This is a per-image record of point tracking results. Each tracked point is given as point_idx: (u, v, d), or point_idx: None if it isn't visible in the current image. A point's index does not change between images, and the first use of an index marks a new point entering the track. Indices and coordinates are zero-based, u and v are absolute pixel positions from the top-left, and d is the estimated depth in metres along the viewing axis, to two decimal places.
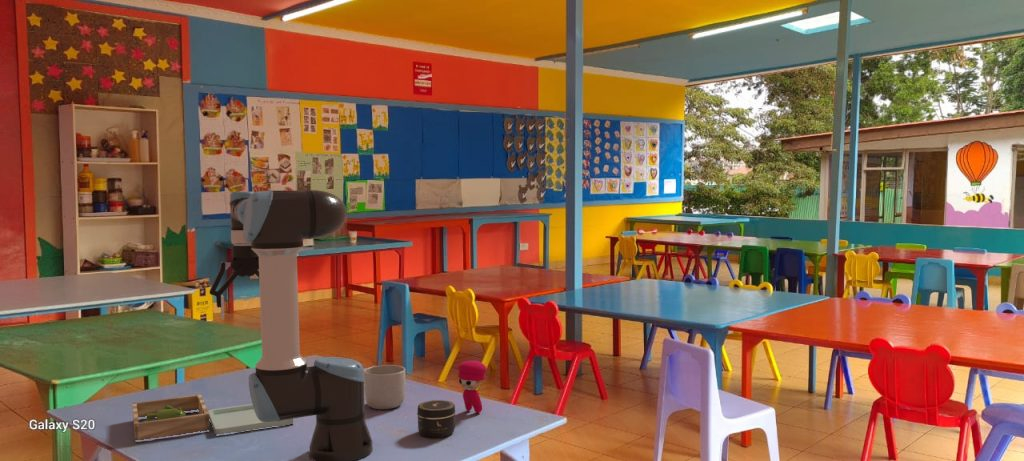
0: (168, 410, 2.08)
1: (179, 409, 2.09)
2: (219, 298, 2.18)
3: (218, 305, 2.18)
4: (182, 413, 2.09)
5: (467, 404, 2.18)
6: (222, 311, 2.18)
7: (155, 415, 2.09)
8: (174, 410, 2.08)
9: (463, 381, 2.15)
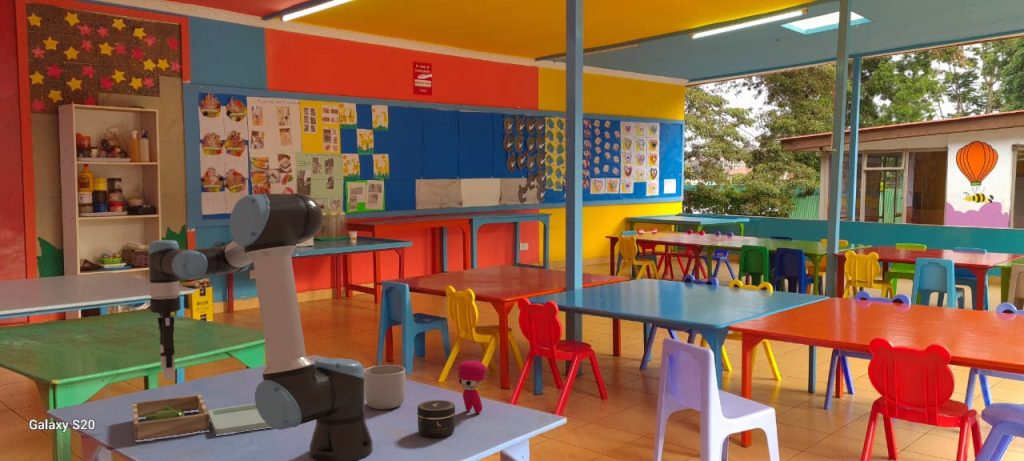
0: (167, 411, 2.07)
1: (178, 410, 2.08)
2: (162, 346, 2.15)
3: None
4: (181, 414, 2.08)
5: (467, 404, 2.18)
6: None
7: (154, 416, 2.08)
8: (173, 411, 2.07)
9: (463, 381, 2.15)
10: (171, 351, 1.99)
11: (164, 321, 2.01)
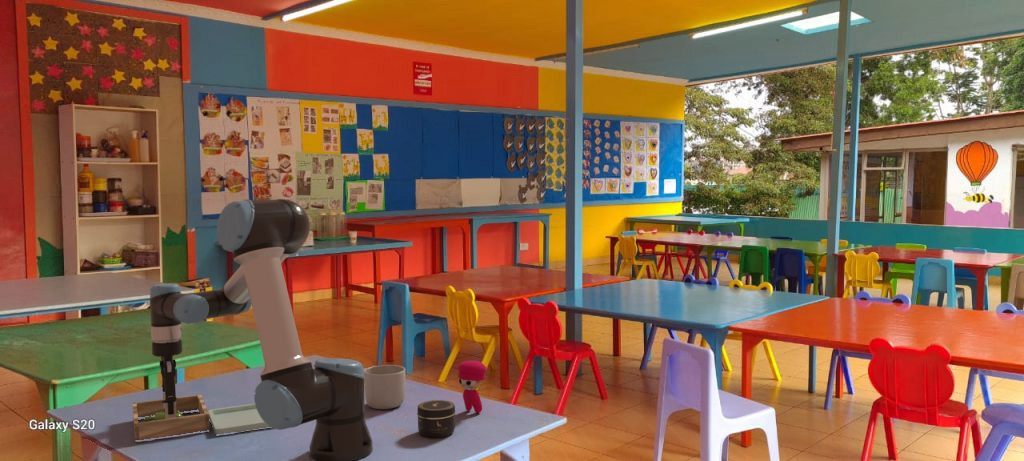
0: None
1: (177, 412, 2.07)
2: None
3: None
4: (180, 416, 2.07)
5: (467, 404, 2.18)
6: (163, 408, 2.13)
7: (153, 418, 2.07)
8: None
9: (463, 381, 2.15)
10: (173, 398, 2.01)
11: (166, 368, 2.02)
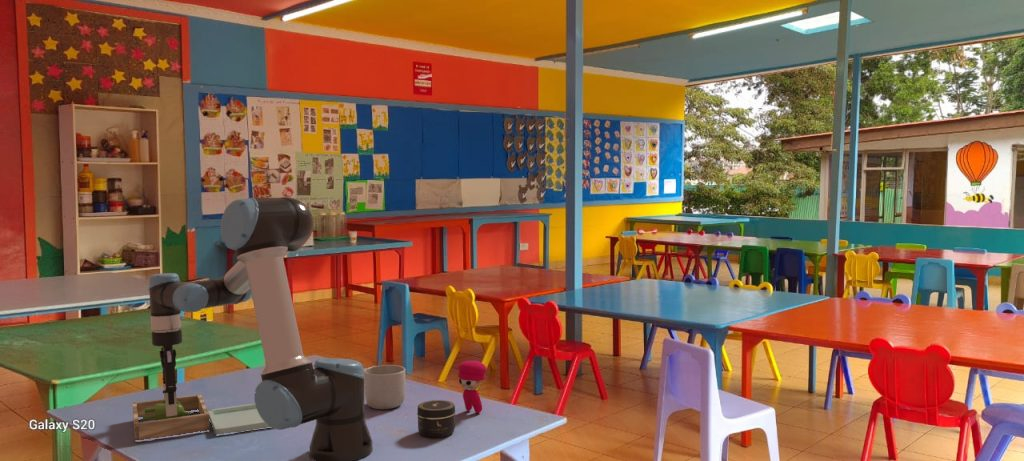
0: None
1: (177, 403, 2.07)
2: None
3: None
4: (180, 407, 2.07)
5: (467, 404, 2.18)
6: None
7: (153, 409, 2.07)
8: None
9: (463, 381, 2.15)
10: (173, 389, 2.02)
11: (166, 358, 2.02)
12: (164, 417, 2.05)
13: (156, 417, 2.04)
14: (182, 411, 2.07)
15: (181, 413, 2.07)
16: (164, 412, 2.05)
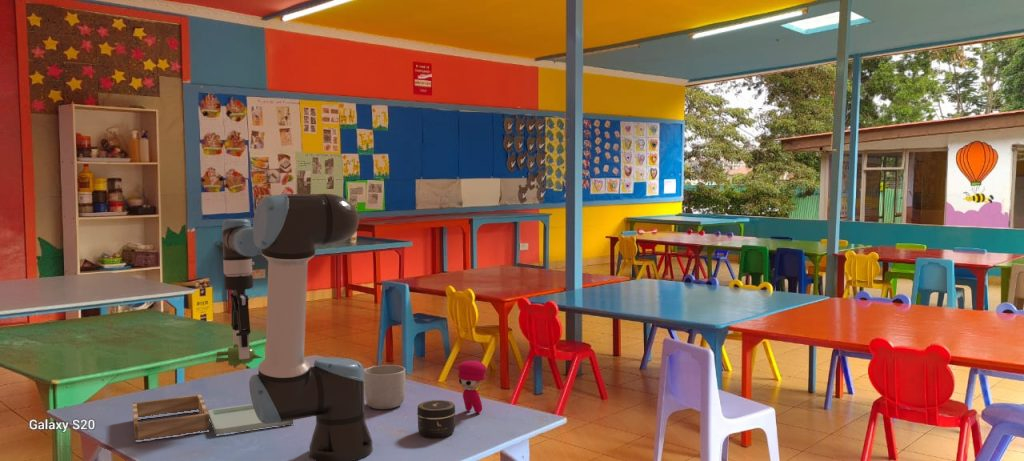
0: (238, 347, 2.09)
1: (249, 346, 2.10)
2: None
3: None
4: (252, 350, 2.10)
5: (467, 404, 2.18)
6: (233, 345, 2.15)
7: (225, 353, 2.10)
8: None
9: (463, 381, 2.15)
10: (247, 331, 2.04)
11: (240, 301, 2.04)
12: (237, 360, 2.07)
13: (229, 360, 2.07)
14: (254, 355, 2.10)
15: (253, 356, 2.09)
16: (237, 355, 2.07)
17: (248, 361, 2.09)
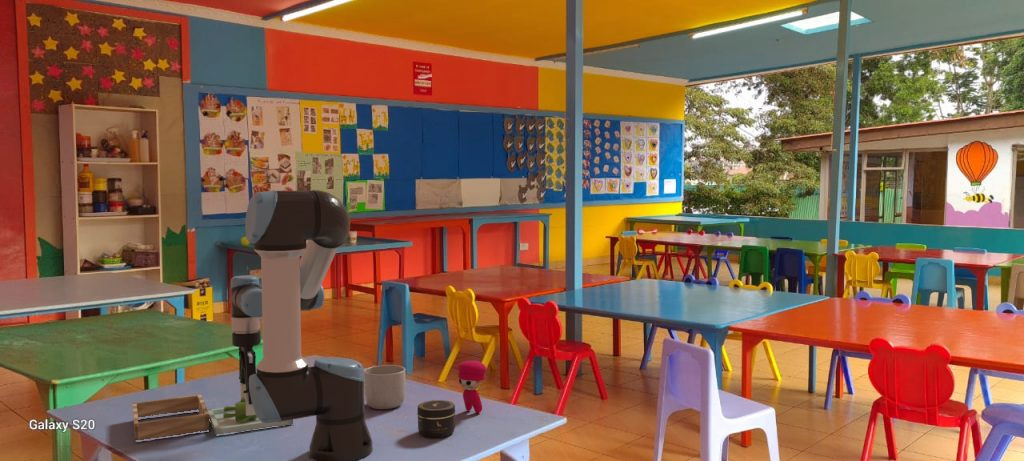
0: (245, 403, 2.11)
1: None
2: None
3: None
4: None
5: (467, 404, 2.18)
6: None
7: (232, 408, 2.12)
8: None
9: (463, 381, 2.15)
10: None
11: (248, 359, 2.06)
12: (244, 416, 2.09)
13: (236, 416, 2.09)
14: None
15: None
16: (244, 411, 2.09)
17: (255, 417, 2.11)
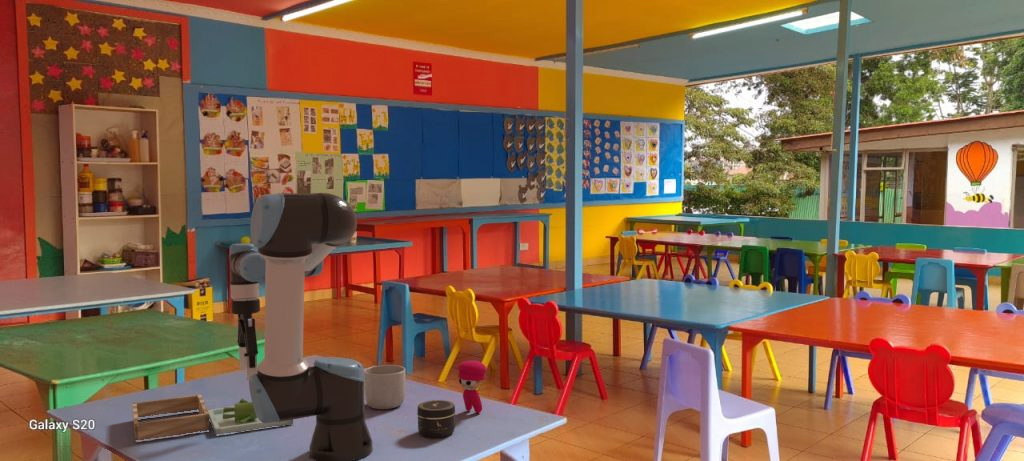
0: (245, 404, 2.10)
1: None
2: None
3: None
4: None
5: (467, 404, 2.18)
6: (239, 362, 2.17)
7: (231, 409, 2.11)
8: (250, 404, 2.10)
9: (463, 381, 2.15)
10: (255, 351, 2.03)
11: (247, 322, 2.05)
12: (243, 417, 2.09)
13: (235, 416, 2.08)
14: None
15: None
16: (243, 412, 2.08)
17: (254, 417, 2.10)
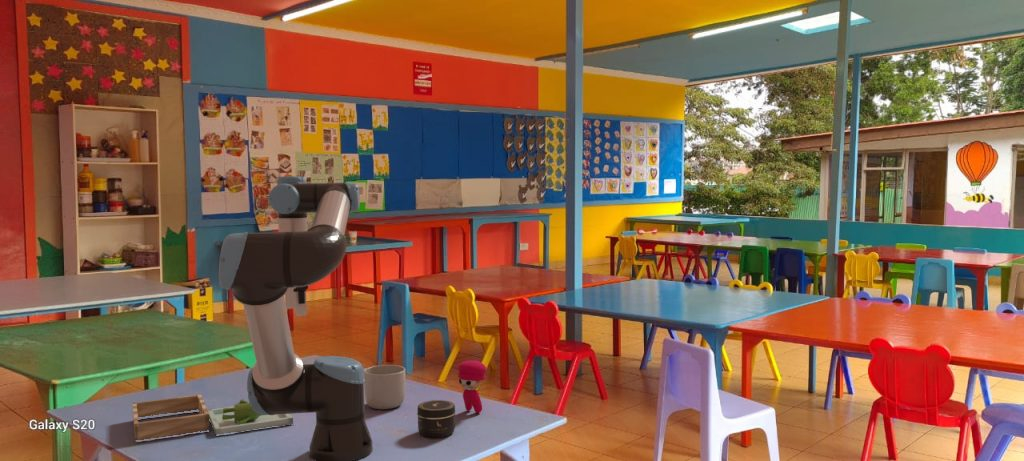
0: (244, 404, 2.10)
1: None
2: None
3: None
4: None
5: (467, 404, 2.18)
6: (285, 301, 2.10)
7: (231, 409, 2.10)
8: None
9: (463, 381, 2.15)
10: (305, 286, 1.96)
11: None
12: (243, 417, 2.08)
13: (235, 417, 2.07)
14: None
15: None
16: (243, 412, 2.08)
17: (254, 418, 2.09)
